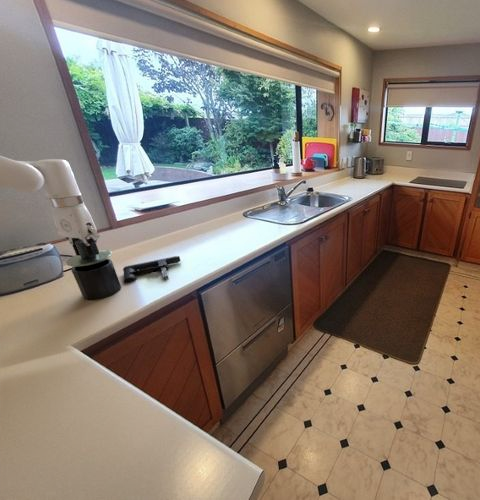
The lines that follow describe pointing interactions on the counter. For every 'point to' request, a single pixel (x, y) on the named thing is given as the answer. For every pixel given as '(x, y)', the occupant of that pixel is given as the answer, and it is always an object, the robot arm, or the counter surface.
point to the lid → (86, 256)
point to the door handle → (149, 268)
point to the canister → (97, 280)
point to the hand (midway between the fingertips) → (88, 254)
